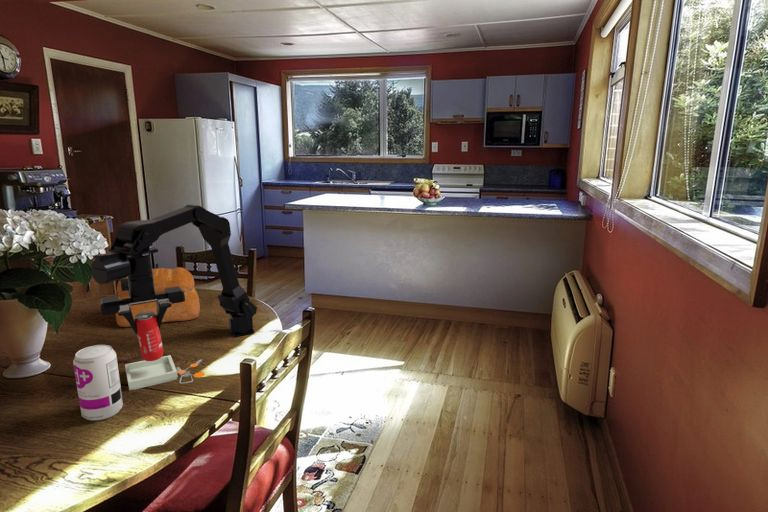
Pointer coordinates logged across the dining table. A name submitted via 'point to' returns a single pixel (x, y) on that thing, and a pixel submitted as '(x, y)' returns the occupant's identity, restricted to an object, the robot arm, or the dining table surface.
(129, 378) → the tray
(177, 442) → the dining table surface
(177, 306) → the bread
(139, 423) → the dining table surface
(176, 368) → the key chain
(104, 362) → the supplement can
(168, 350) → the dining table surface
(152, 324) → the beverage can
